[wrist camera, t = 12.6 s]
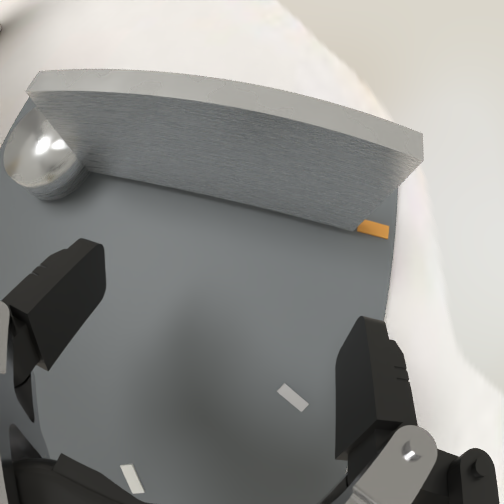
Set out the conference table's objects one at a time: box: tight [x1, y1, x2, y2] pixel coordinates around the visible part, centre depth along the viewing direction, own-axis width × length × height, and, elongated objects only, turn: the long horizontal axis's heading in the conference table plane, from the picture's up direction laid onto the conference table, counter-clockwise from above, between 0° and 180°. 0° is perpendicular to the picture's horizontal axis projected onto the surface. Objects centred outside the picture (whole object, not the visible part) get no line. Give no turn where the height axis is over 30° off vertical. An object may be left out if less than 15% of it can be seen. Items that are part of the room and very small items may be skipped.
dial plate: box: [0, 97, 398, 504], centre depth 17 cm, size 30×30×2 cm
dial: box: [3, 69, 424, 231], centre depth 14 cm, size 22×6×8 cm, turn 76°
